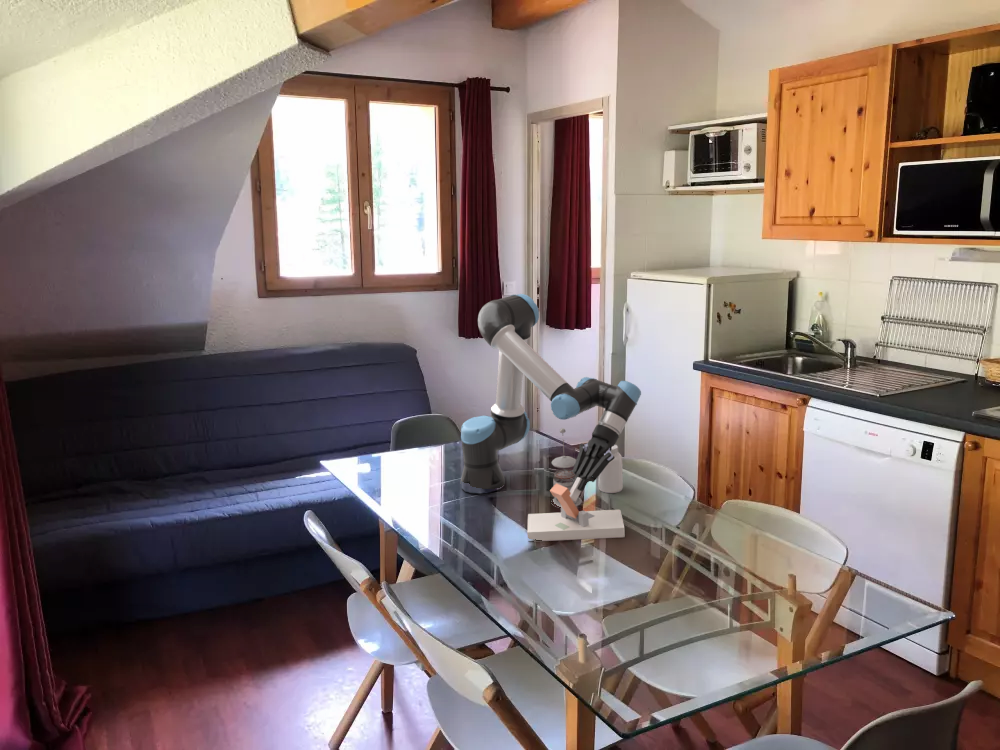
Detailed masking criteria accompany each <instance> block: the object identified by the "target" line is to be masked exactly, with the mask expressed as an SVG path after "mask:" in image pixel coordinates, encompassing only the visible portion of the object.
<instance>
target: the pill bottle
mask: <svg viewBox="0 0 1000 750" xmlns="http://www.w3.org/2000/svg"><path fill="white" fill-rule="evenodd" d="M611 453H612V455H613V456H614V457H615V458H614V459H613V460H612V461H611V462H609V463H608V465H607V466H606V467H605V468H604V470H603V471H602V472H601V474H600V475H599V476H598V477H597V479H598V480H597V481H598V490H600V492H602V493H604V494H616V493H620V492H621V491H622V490H623V488H624V482H623V481H624V480H623V479H624V477H623V473H624V472H623V456H622V455H621V453H620V452H619V446H618V445H617V444H615V445H614V446H612V449H611Z"/></svg>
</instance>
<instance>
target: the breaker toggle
mask: <svg viewBox="0 0 1000 750" xmlns="http://www.w3.org/2000/svg"><path fill="white" fill-rule="evenodd" d="M568 488H569V487H567V488H566V487H564V486H561V485H559V484H557V483H556V484H555V485H554V484H553V486H552V487H551V489H550V490H549V492H550V494H551V495H552V497H553V498H554V497H556V498H557V499H558V501H559V502H560V504H561V506H562V507H563V509H564V511H565V512H566V516H567V517H569V518H571V519H573V520H575V521H577V522H579V515H578V512H580V511H579V509H578V506H575V504H574V502H573V501H572V499H571V497H570V496H569V495H570V494H571V493H570V491H569V489H568Z"/></svg>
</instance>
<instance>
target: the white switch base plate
mask: <svg viewBox="0 0 1000 750" xmlns="http://www.w3.org/2000/svg"><path fill="white" fill-rule="evenodd" d="M578 515H579V522H577V521H575V520H573V519H571V518H569V517H567V516H566V512H565V511H564V509H563V507H562V506H561V508H560V512H545V513H542V512H541V513H528V514H527V539H528V538H529V539H536V540H542V541H541V542H549V541H550V542H551V541H553V542H554V541H571V540H575V541H576V540H593V539H612V538H613V539H614V538H615V539H616V538H626V537H625V535H626V534H625V533H626V532H625V531H626V530H625V524H624V519H623V516H622V511H621V509H604V510H587V511H586V510H581V511H579V512H578Z"/></svg>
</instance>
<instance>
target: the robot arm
mask: <svg viewBox="0 0 1000 750" xmlns="http://www.w3.org/2000/svg"><path fill="white" fill-rule="evenodd" d="M539 319H540V311H539V307H538V305H537V303H535V300H534V299H533V298H532V297H531V296H529V295H527V294H523V293H519V294H511V295H510V296H506V297H502V298H499V299H493V300H490V301H489V302H487V303H485V304H483V306H482V307H481V309H480V310H479V312H478V315H477V326H478V330H479V333H480V335H481V336H482V338H483V340H484V341H485V342H486V343H487V344H488V345H489V346H490V348H492V349H494V350H498V363H497V380H496V391H495V392H496V393H495V394H496V397H495V403H493V404H492V406H491V407H490V416H488V415H478V416H473V417H471V418H468V419H467V420H465V421H464V422H463V423H462V425H461V427H460V440H461V448H462V459H463V469H462V473H461V478H460V482H461V481H462V482H464V483H469V484H470V486H472V487H476V488H482V489H495V488H500V487H502V486H503V485H504V484H505V485H506V479H505V478H506V477H505V476H504V473H503V471H502V469H501V465H500V464H499V459H498V457H499V456H498V452H499V451H501V450H503V449H505V448H508V447H509V446H512V445H515V444H517V443H519V442H521V441H522V440H524V439H525V438H526V437H527V436H528V434H529V431H530V428H531V423H530V422H531V421H530V418H528V413H527V412H526V411H525V408H524V406H522V402H521V401H522V390H523V380H524V379H523V378H524V377H523V376H525V378H527V379H528V380H529V381H530V382H531V383H532V384H533V385H534V386H535V387H536V388H537V389H538V390H539V391H540V392H541V393H542V395H544V396H545V397H546V398H547V399H548V400H549V401H550V409H551V411H552V414H553V415H554V416H555V418H557V419H559V420H569V419H571V418H574V417H577V416H579V414H583V413H584V412H587V411H589V410H591V409H593V408H595V407H600V408H603V409H604V411H603V412H602V414H601V416H600V418H599V419H598V422H597V424H596V426H595V427H594V429H593V431H592V432H591V438H590V439H589V441H587V443H585V444H583V443H580V444H579V451H578V454H577V457H576V463H575V465H574V466H573V469H572V470H573V473H574V474H575V475H576V478H575V480H574V479H573V480H574V481H573V483H572V485H571V486H572V488H571V490H570V493H571V494H570V495H569V496H570V497H571V499H572V500H573V501H575V502H576V500H577V498H578V496H579V497H580V494H581V493H582V492H583V491H584V490H585V487H586V486H587V484H588V483H589V482H591V483H594V482H595V481H596V480H597V479H598V476H599V475H600V474H601V472H602V471H603V470H604V468H605V467H606V466H607V465H608V463H609V462H611V461H612V460H613V459H614V458H615V457H614V456H613V455H612V453H611V449H612V446H614V445H617V444H616V443H617V441H618V440H619V438H620V434H622V433H623V430H624V428H625V426H626V425H627V423H628V421H629V418H630V417H631V415H632V412H633V411H634V410H635V407H637V405H638V401H639V399H640V397H641V395H642V391H641V389H640V388H639V386H637V385H636V384H634V383H632V382H630V381H627V380H620V382H619V383H618V384H617V385H613V384H610V383H607V382H604V381H602V380H599V379H597V378H594V377H593V378H592V377H588V376H585V377H582V378H580V381H578V382H577V384H576V387H575V388H574V387H572V386H571V384H570V383H569V382H567V380H565V379H564V377H562V376H561V375H560V374H559V373H558V371H556V370H555V369H554V368H553V366H552V365H550V364H549V363H548V362H547V361H545V359H544V358H542V356H541V355H540V354H538V352H536V351H535V350H534V349H533V348H532V346H530V345H529V344H528V343H527V341H528V340H529V339H530V338H531V335H532V334H531V333H532V328H533V327H535V325H536V324H537V323H538V322H539ZM505 485H504V486H505Z"/></svg>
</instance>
